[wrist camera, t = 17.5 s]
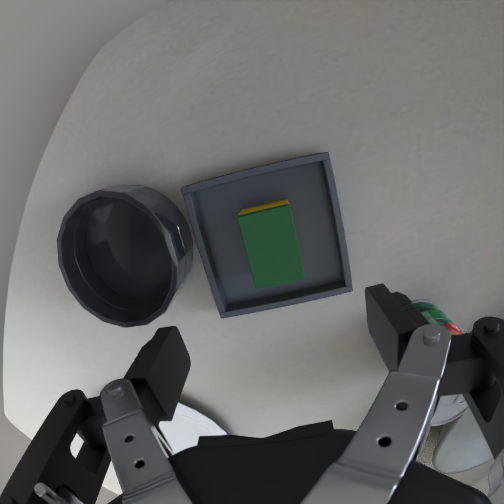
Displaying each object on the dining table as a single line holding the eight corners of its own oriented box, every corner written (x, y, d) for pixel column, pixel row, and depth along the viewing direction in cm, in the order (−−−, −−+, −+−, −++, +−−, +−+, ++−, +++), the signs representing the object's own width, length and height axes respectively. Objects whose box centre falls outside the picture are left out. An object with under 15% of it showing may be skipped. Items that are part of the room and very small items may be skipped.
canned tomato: (366, 346, 29) (397, 419, 19) (410, 287, 27) (464, 346, 17) (412, 367, 30) (447, 431, 20) (452, 315, 28) (503, 371, 17)
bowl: (564, 309, 27) (591, 330, 19) (491, 431, 35) (506, 457, 28) (478, 290, 27) (519, 324, 19) (386, 447, 35) (398, 487, 27)
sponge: (241, 209, 25) (236, 217, 22) (287, 198, 25) (289, 204, 22) (258, 273, 27) (256, 290, 24) (301, 264, 27) (305, 279, 23)
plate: (101, 438, 39) (97, 445, 37) (102, 359, 32) (96, 367, 31) (214, 479, 40) (213, 488, 38) (258, 416, 33) (257, 427, 32)
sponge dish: (187, 185, 26) (180, 187, 24) (323, 152, 24) (328, 151, 22) (223, 308, 29) (220, 318, 27) (347, 282, 27) (353, 291, 25)
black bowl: (72, 205, 27) (42, 215, 22) (172, 168, 25) (151, 170, 20) (109, 309, 30) (87, 332, 25) (208, 291, 28) (197, 317, 24)
